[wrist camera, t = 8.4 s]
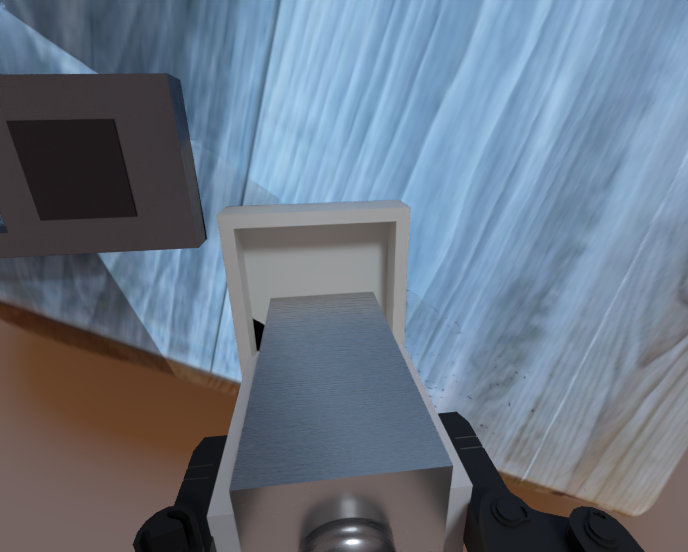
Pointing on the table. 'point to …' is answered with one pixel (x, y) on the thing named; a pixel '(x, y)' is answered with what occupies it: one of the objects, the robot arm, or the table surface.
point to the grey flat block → (96, 165)
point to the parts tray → (313, 259)
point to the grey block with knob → (337, 437)
